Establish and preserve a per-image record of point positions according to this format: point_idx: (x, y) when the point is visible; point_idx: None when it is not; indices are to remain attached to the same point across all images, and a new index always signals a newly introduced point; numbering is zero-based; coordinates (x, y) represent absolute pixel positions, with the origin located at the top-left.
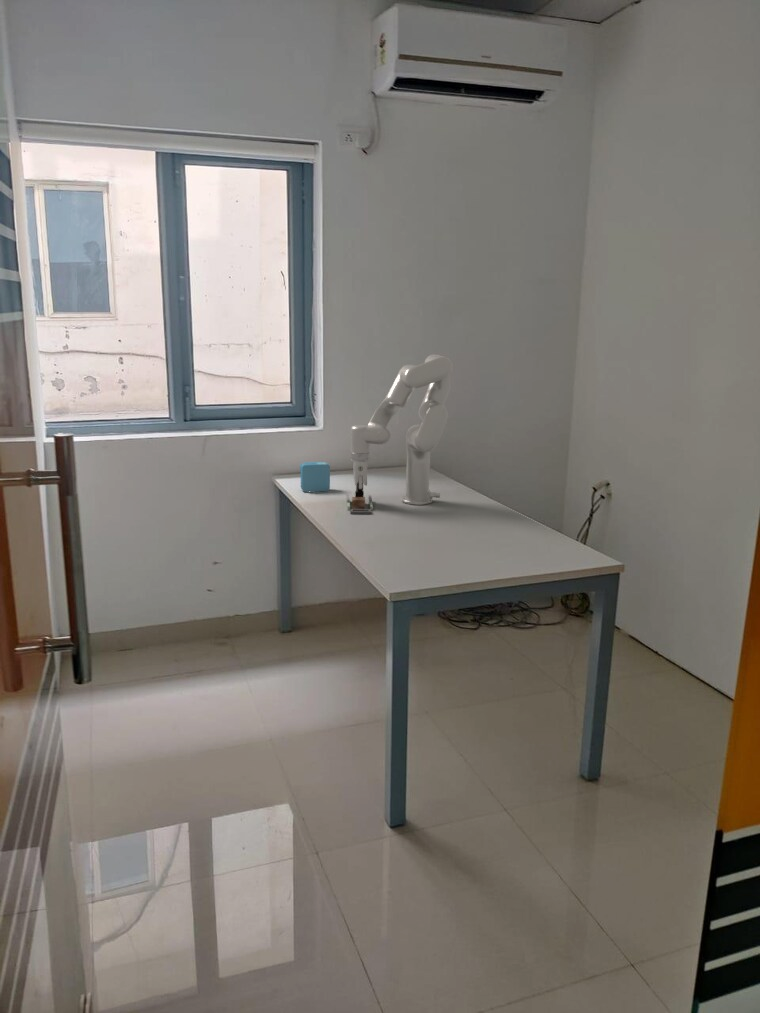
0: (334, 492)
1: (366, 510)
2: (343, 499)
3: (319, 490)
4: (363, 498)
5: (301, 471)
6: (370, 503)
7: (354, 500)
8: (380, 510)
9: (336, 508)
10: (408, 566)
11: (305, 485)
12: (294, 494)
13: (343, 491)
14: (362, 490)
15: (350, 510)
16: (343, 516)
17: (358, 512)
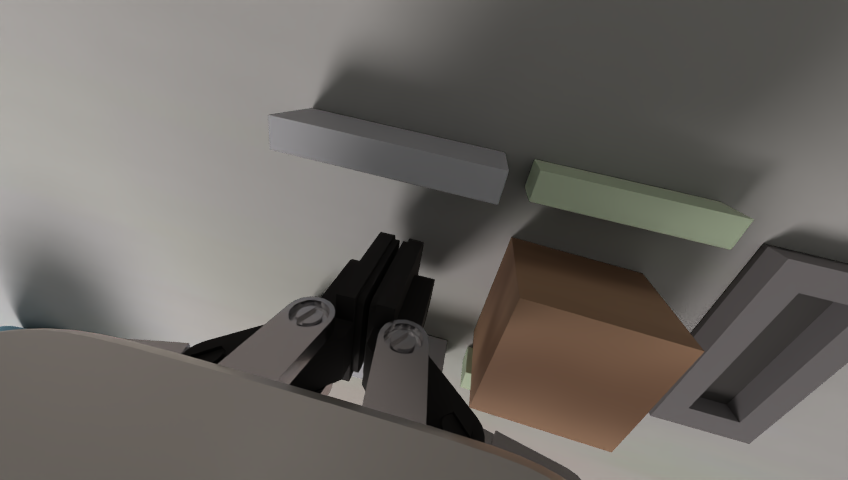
0: (82, 309)
1: (773, 303)
2: (257, 318)
3: None
4: (589, 335)
5: None
6: (578, 204)
7: (621, 433)
8: (795, 105)
9: (504, 430)
10: None
11: None
12: None
13: (30, 248)
14: (427, 360)
15: (703, 430)
16: (761, 472)
17: (798, 391)
